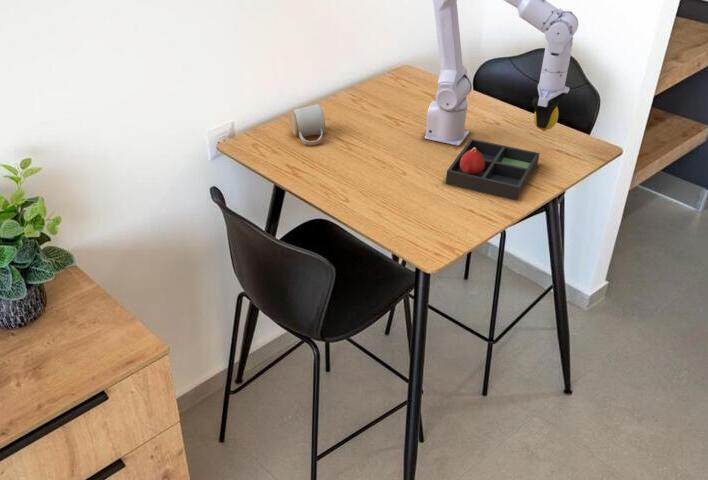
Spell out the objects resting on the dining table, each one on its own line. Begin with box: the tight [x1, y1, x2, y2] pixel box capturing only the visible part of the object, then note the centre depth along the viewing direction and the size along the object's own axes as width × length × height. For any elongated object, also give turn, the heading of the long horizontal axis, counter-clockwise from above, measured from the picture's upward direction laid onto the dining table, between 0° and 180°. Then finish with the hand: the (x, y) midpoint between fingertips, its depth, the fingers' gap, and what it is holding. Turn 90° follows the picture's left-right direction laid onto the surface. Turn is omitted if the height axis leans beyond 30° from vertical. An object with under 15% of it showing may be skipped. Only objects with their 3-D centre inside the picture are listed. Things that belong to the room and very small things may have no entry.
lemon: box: [533, 101, 559, 132], centre depth 182 cm, size 6×6×8 cm
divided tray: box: [445, 138, 541, 201], centre depth 182 cm, size 17×17×4 cm
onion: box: [460, 148, 485, 176], centre depth 179 cm, size 6×6×8 cm
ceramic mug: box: [289, 103, 326, 146], centre depth 199 cm, size 11×8×8 cm
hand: (544, 121), depth 183 cm, fingers closed on lemon, 5 cm apart
